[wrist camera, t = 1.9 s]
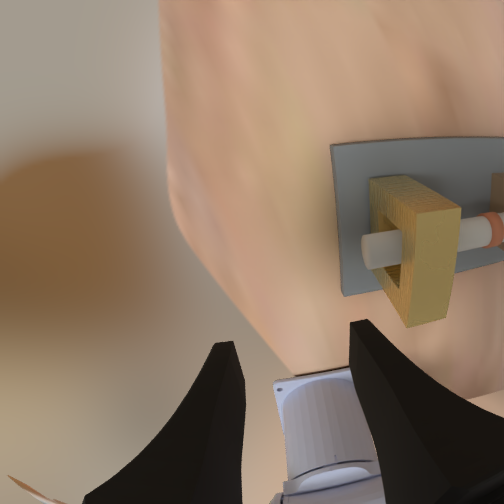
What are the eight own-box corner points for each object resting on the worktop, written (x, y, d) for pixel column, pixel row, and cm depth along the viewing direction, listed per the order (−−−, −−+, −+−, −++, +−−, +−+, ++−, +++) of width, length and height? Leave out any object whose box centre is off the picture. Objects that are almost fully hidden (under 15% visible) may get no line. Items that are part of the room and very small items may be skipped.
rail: (510, 137, 16) (558, 152, 11) (500, 255, 20) (536, 287, 16) (329, 144, 17) (358, 160, 12) (341, 290, 21) (361, 339, 17)
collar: (404, 174, 17) (461, 207, 11) (403, 263, 19) (445, 317, 14) (368, 178, 17) (416, 213, 11) (370, 270, 19) (406, 328, 14)
